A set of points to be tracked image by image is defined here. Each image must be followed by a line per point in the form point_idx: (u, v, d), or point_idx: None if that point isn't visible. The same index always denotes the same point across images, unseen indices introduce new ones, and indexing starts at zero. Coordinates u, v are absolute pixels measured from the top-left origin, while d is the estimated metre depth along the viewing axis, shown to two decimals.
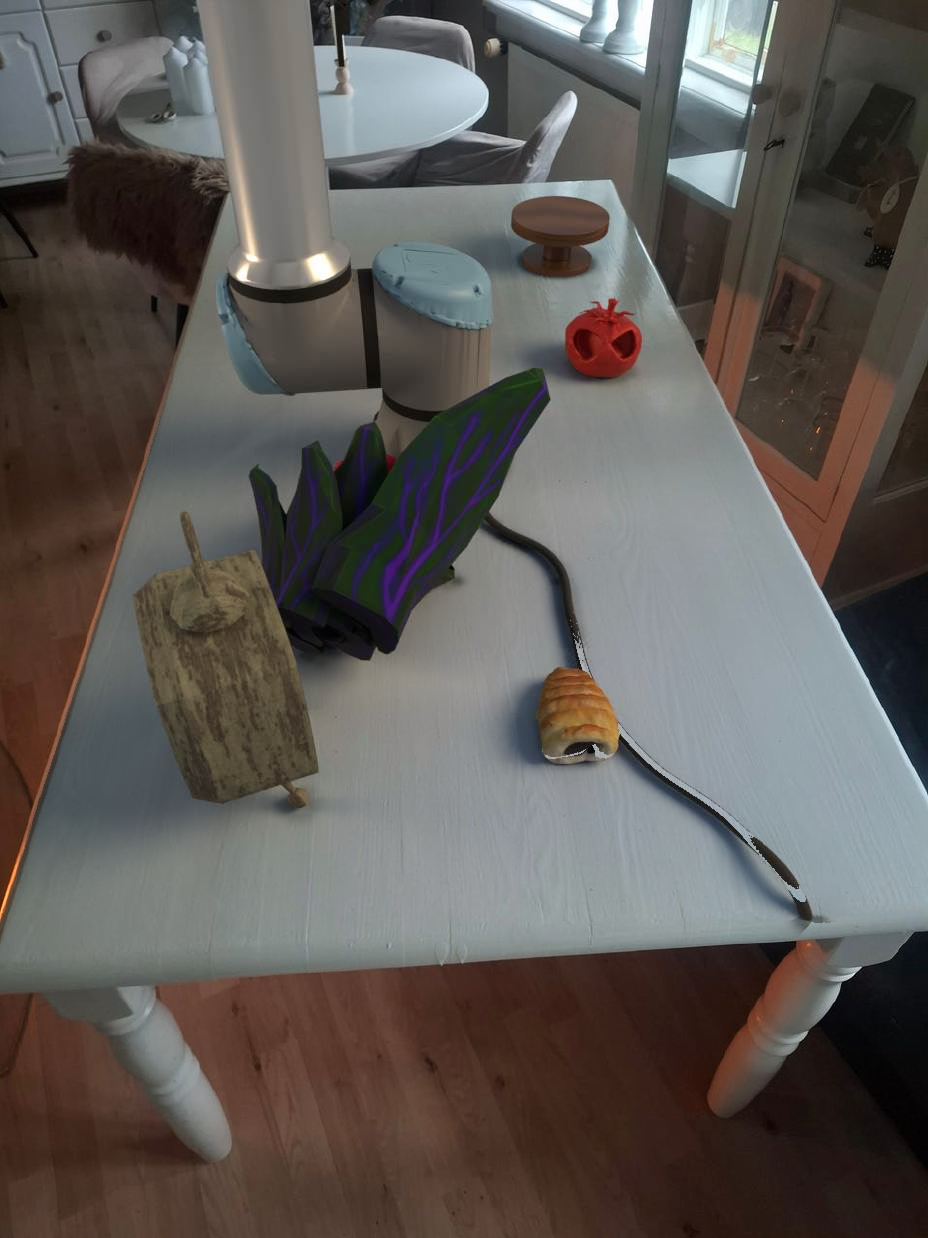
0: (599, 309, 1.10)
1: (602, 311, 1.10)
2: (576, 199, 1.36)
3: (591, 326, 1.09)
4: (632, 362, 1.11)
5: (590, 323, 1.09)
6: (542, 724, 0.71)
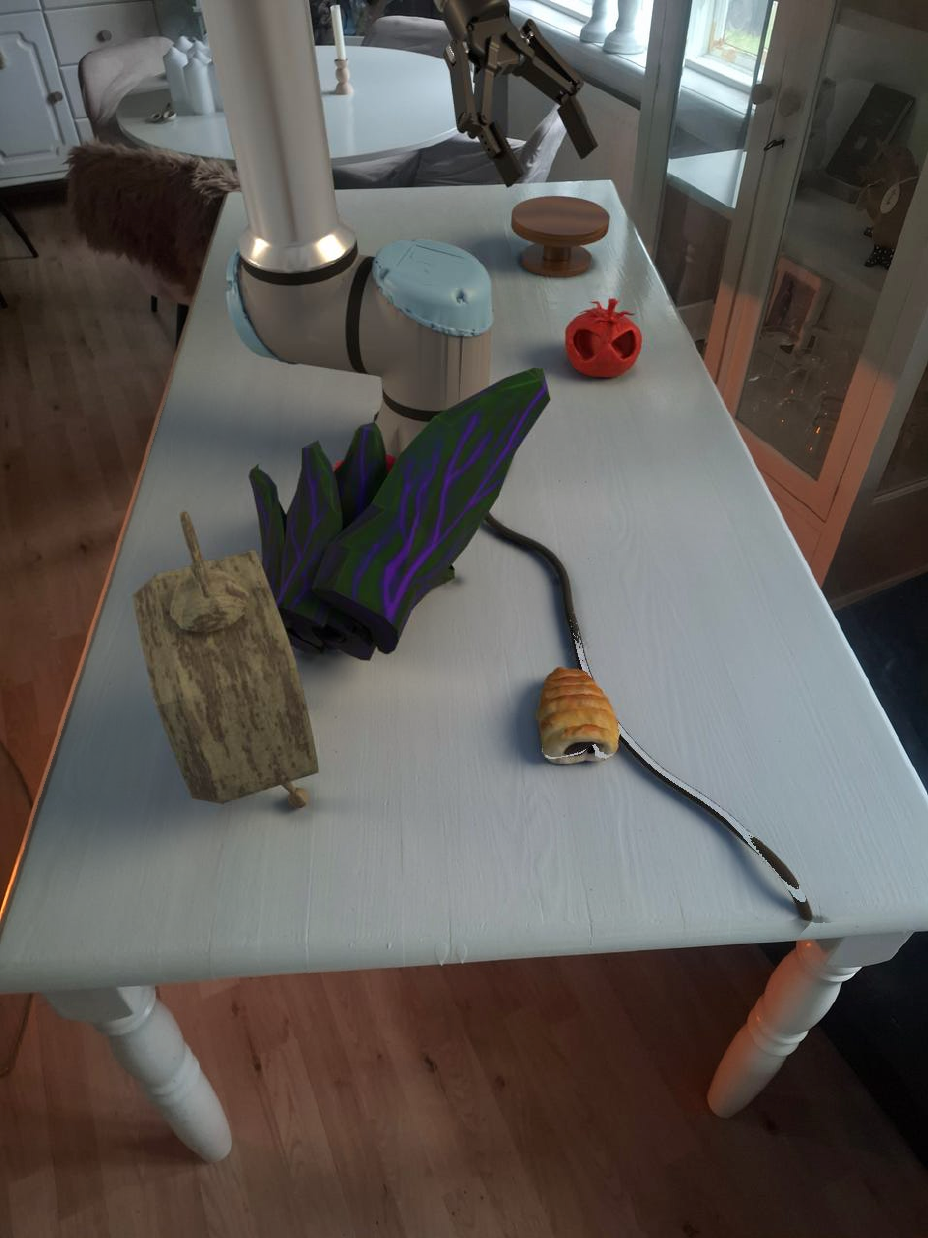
0: (599, 309, 1.10)
1: (602, 311, 1.10)
2: (576, 199, 1.36)
3: (591, 326, 1.09)
4: (632, 362, 1.11)
5: (590, 323, 1.09)
6: (542, 724, 0.71)
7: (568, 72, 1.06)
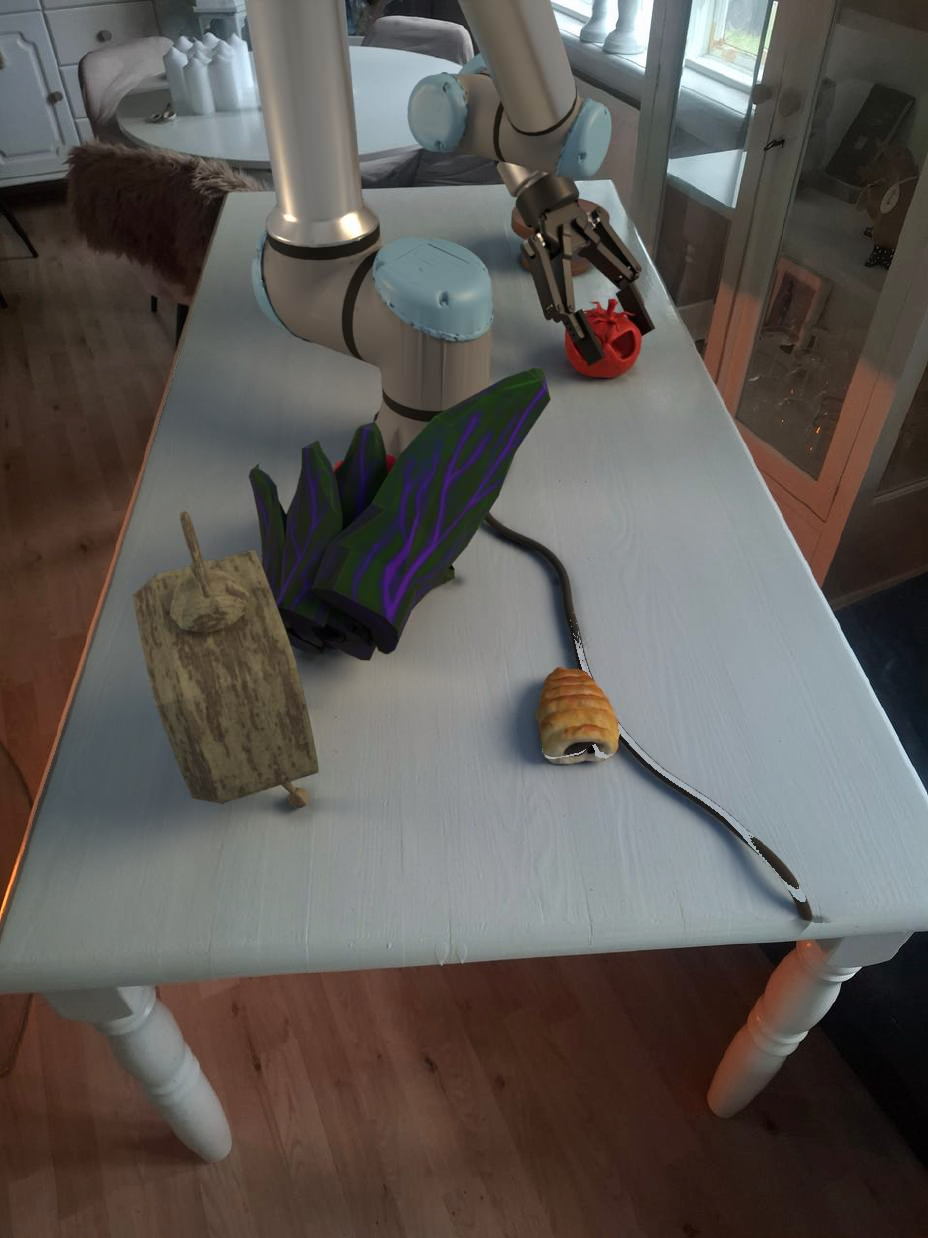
0: (599, 309, 1.10)
1: (602, 311, 1.10)
2: None
3: (591, 326, 1.09)
4: (632, 363, 1.11)
5: (590, 323, 1.09)
6: (542, 724, 0.71)
7: (628, 258, 1.11)
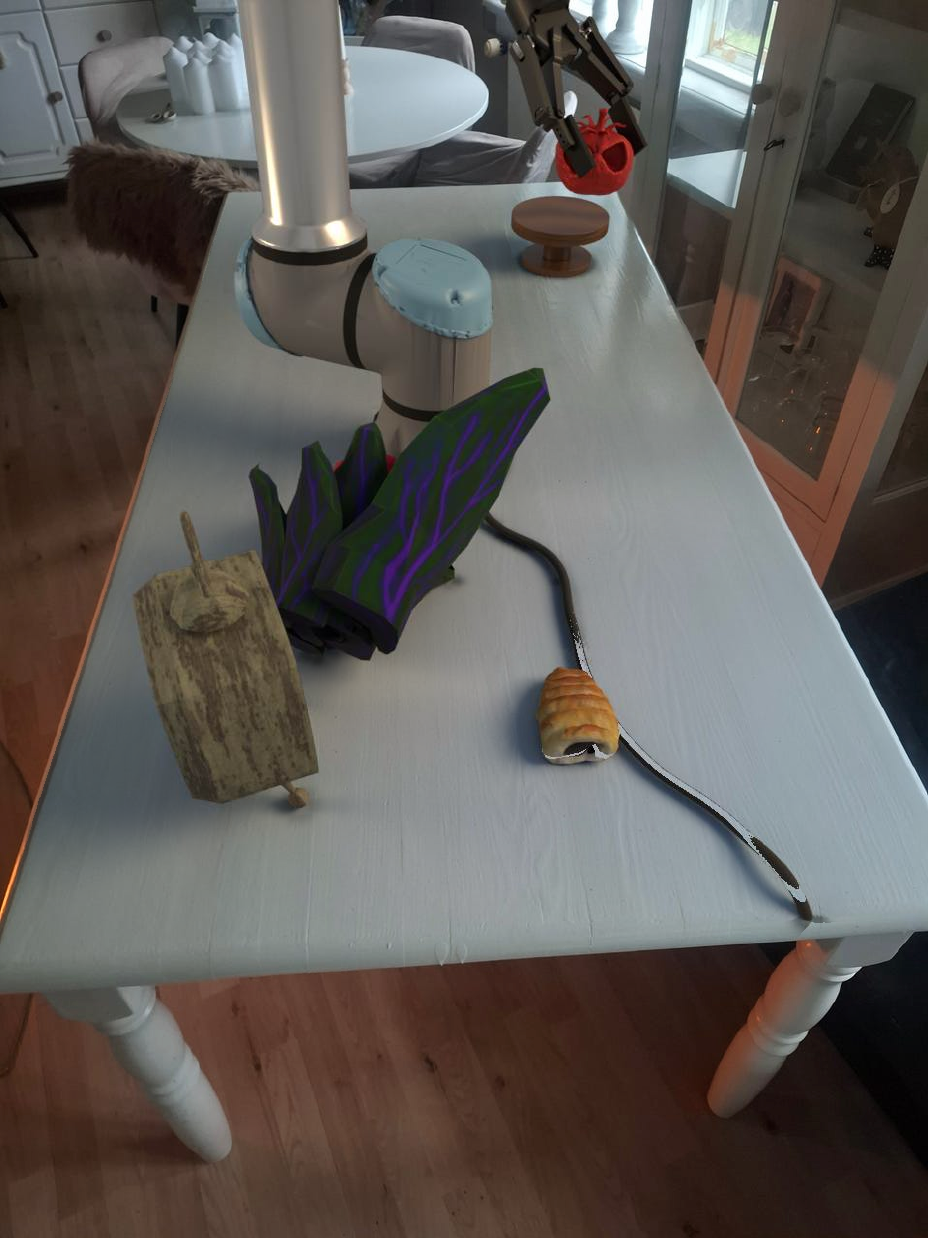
0: (590, 122, 1.08)
1: (593, 124, 1.08)
2: (576, 199, 1.36)
3: None
4: (623, 179, 1.09)
5: None
6: (542, 724, 0.71)
7: (620, 72, 1.09)
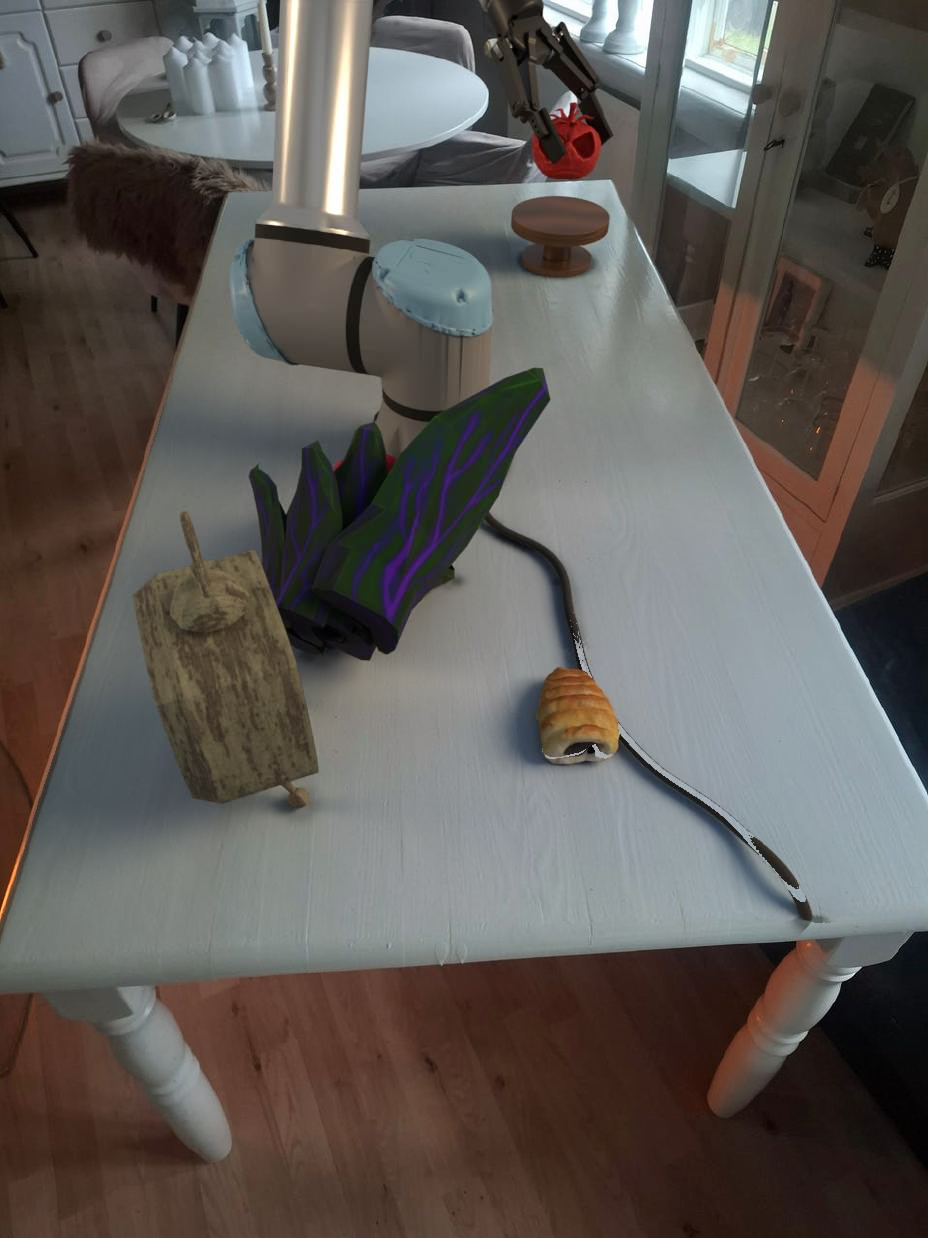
0: (562, 115, 1.23)
1: (565, 116, 1.23)
2: (576, 199, 1.36)
3: None
4: (592, 165, 1.24)
5: None
6: (542, 724, 0.71)
7: (588, 70, 1.24)
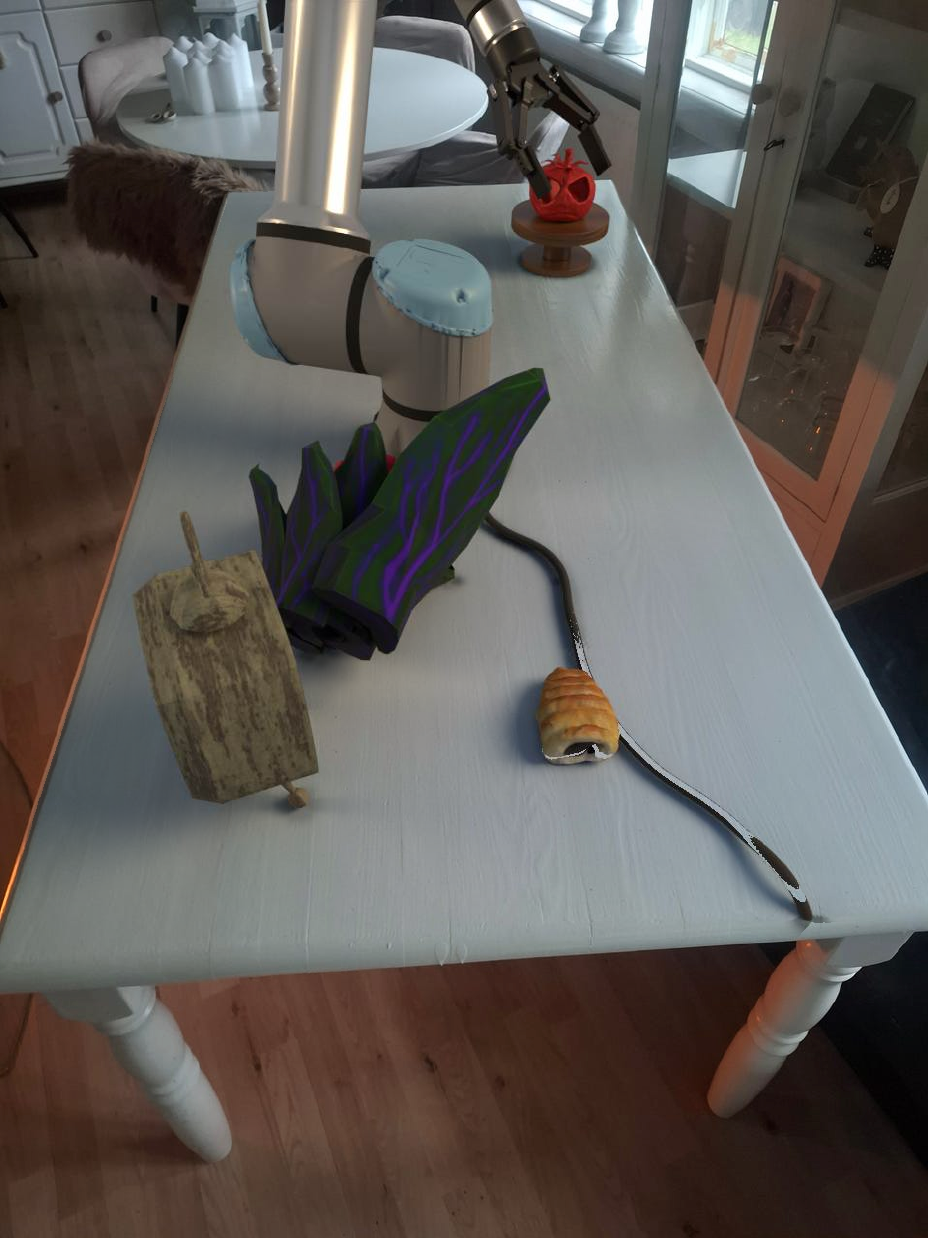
0: (558, 160, 1.27)
1: (561, 161, 1.27)
2: None
3: (551, 173, 1.25)
4: (587, 208, 1.28)
5: (550, 170, 1.26)
6: (542, 724, 0.71)
7: (587, 105, 1.28)
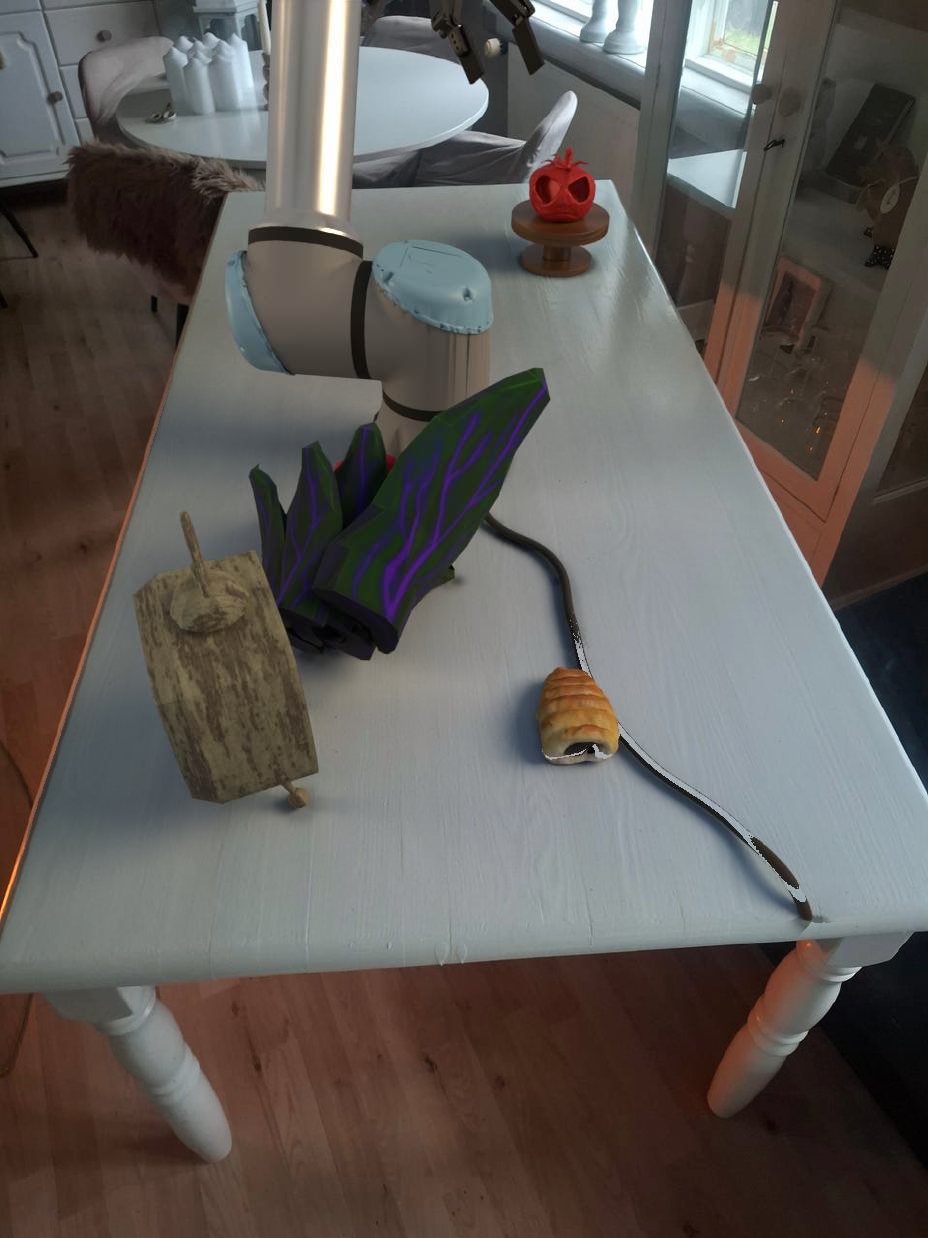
0: (558, 160, 1.27)
1: (561, 161, 1.27)
2: None
3: (551, 173, 1.25)
4: (587, 208, 1.28)
5: (550, 170, 1.26)
6: (542, 724, 0.71)
7: None
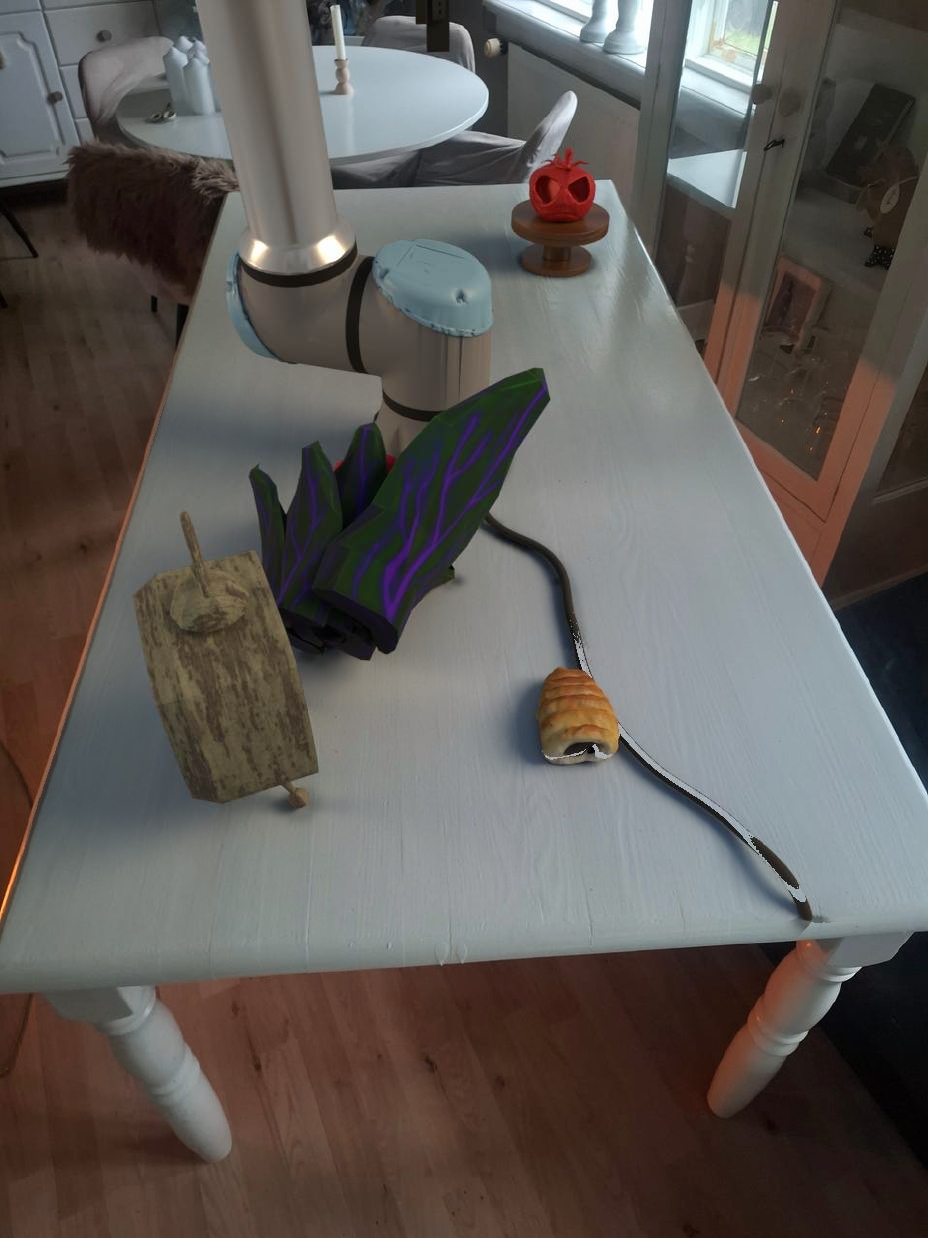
0: (558, 160, 1.27)
1: (561, 161, 1.27)
2: None
3: (551, 173, 1.25)
4: (587, 208, 1.28)
5: (550, 170, 1.26)
6: (542, 724, 0.71)
7: None
